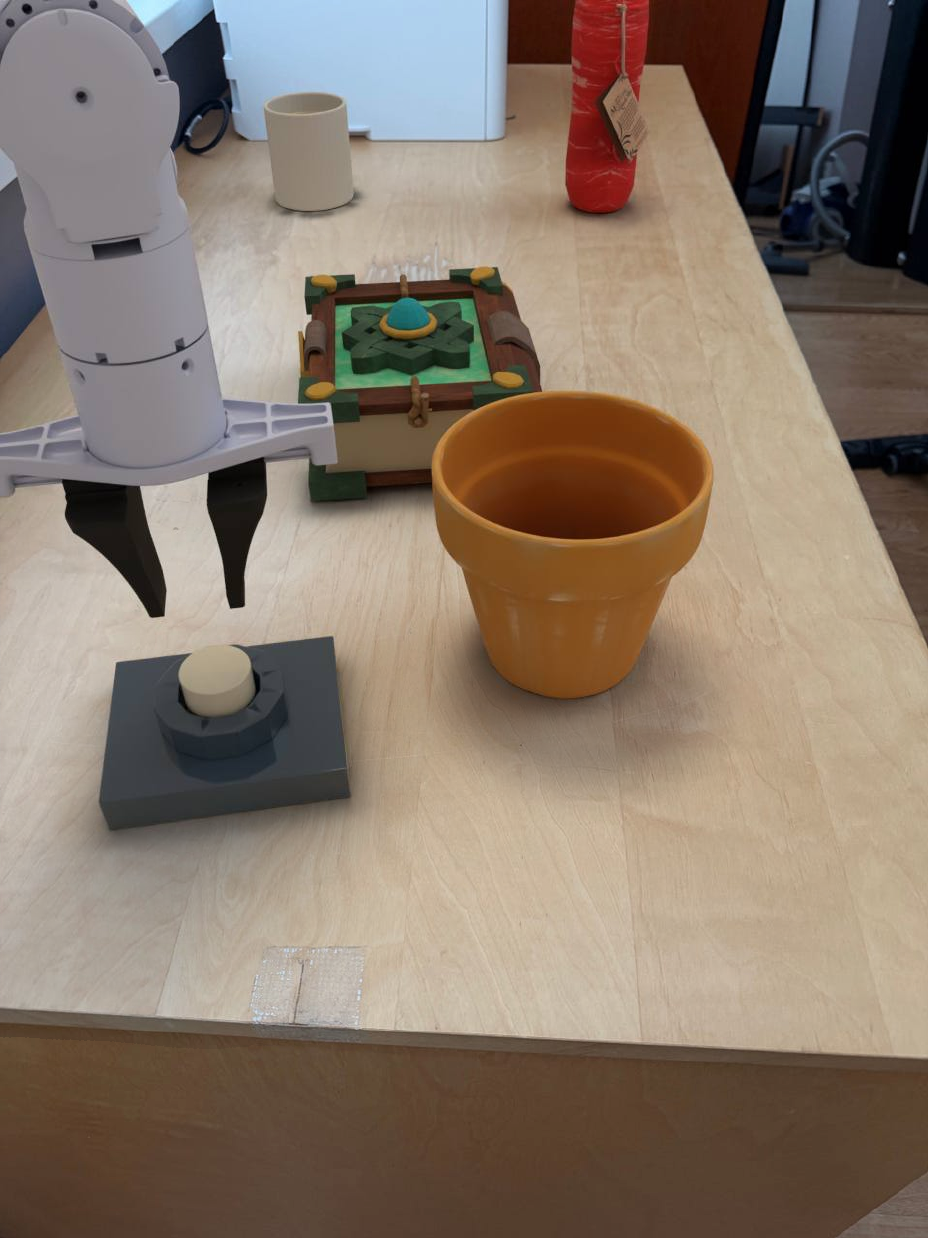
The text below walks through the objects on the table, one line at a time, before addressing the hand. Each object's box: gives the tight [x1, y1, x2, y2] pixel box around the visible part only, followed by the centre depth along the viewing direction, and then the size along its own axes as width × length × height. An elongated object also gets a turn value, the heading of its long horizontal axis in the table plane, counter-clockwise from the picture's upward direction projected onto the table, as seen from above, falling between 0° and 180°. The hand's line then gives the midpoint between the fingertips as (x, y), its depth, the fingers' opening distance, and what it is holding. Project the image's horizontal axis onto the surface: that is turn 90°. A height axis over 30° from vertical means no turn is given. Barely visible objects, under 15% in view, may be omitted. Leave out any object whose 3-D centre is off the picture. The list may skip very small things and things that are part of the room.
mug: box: [263, 91, 355, 212], centre depth 115 cm, size 11×10×10 cm
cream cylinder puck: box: [179, 644, 256, 718], centre depth 53 cm, size 4×4×2 cm
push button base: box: [98, 635, 352, 831], centre depth 54 cm, size 12×10×4 cm
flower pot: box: [431, 390, 715, 699], centre depth 57 cm, size 14×14×13 cm
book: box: [297, 266, 544, 502], centre depth 79 cm, size 27×21×10 cm
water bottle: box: [564, 0, 651, 214], centre depth 106 cm, size 12×8×25 cm, turn 7°
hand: (198, 599), depth 49 cm, fingers open, 3 cm apart
